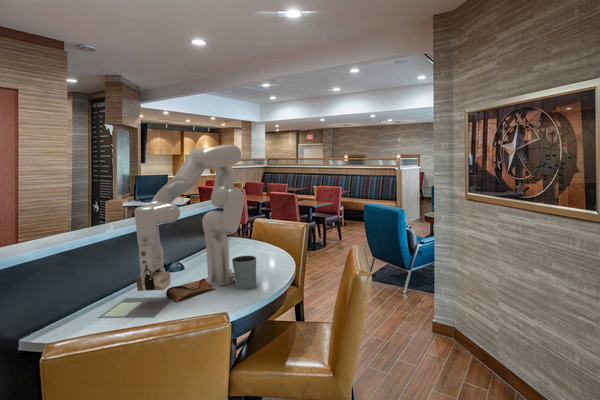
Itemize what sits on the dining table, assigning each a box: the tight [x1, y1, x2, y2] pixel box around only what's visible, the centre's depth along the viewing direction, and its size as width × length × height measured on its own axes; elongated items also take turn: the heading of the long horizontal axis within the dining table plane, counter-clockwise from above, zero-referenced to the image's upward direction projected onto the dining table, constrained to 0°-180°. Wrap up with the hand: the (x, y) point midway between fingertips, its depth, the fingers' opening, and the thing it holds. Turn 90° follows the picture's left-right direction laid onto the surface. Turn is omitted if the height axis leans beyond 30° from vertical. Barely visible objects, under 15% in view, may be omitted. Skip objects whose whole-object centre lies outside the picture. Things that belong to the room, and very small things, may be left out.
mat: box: [97, 296, 173, 319], centre depth 130 cm, size 20×18×1 cm
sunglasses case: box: [165, 278, 216, 302], centre depth 142 cm, size 18×7×7 cm, turn 139°
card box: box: [135, 271, 172, 292], centre depth 132 cm, size 10×6×5 cm, turn 86°
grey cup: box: [231, 255, 257, 291], centre depth 149 cm, size 10×10×12 cm
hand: (154, 285), depth 132 cm, fingers closed on card box, 6 cm apart
